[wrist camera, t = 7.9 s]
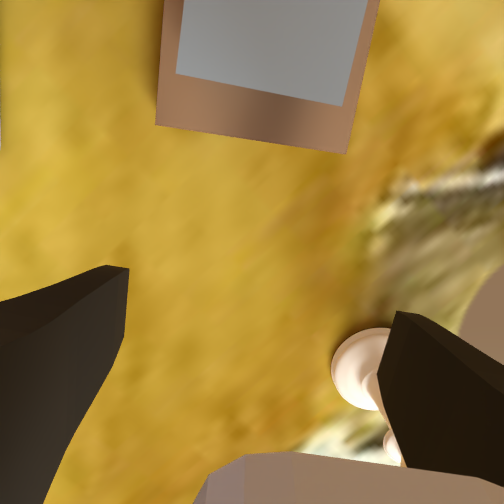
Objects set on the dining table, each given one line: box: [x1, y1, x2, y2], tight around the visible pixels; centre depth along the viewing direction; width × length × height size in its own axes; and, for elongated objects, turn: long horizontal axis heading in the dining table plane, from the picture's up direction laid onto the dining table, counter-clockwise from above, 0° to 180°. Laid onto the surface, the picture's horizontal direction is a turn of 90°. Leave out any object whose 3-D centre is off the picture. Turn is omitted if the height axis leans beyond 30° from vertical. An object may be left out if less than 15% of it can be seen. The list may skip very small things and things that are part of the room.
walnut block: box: [155, 0, 380, 154], centre depth 19 cm, size 8×8×2 cm
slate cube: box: [176, 0, 368, 107], centre depth 15 cm, size 5×5×5 cm
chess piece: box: [331, 328, 407, 468], centre depth 20 cm, size 5×5×10 cm
